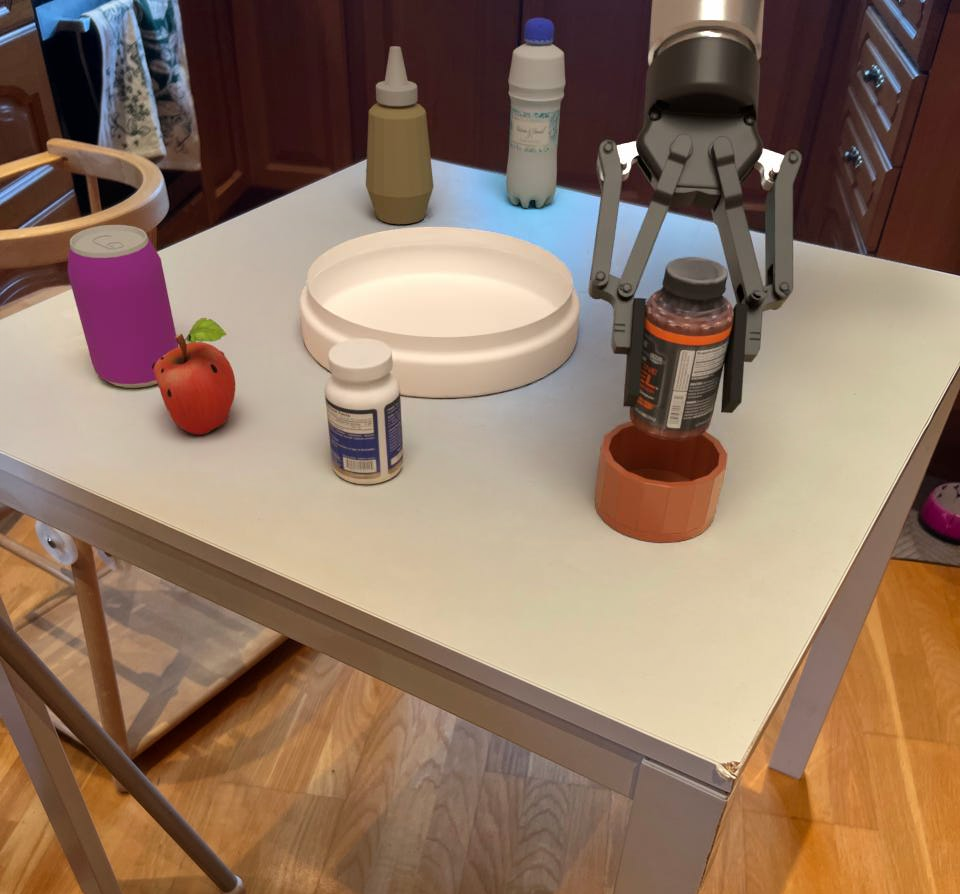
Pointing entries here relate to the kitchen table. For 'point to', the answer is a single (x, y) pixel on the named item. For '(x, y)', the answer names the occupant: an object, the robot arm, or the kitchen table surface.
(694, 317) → the supplement bottle
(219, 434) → the kitchen table surface
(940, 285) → the kitchen table surface
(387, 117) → the squeeze bottle
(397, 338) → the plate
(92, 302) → the beverage can
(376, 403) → the pill bottle
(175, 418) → the apple
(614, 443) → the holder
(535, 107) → the bottle
